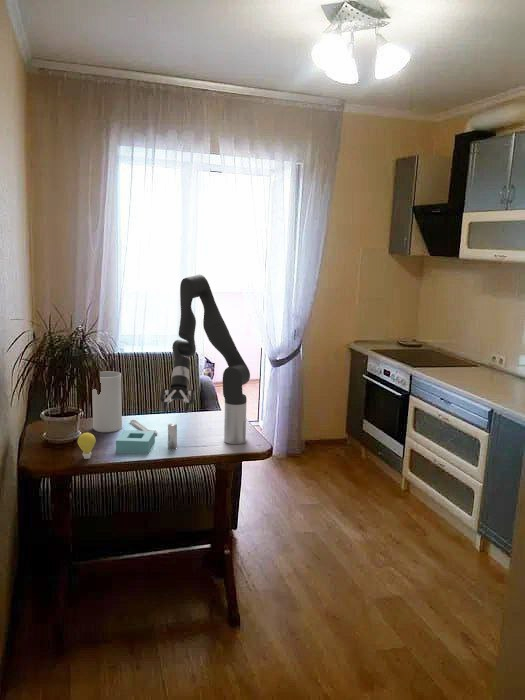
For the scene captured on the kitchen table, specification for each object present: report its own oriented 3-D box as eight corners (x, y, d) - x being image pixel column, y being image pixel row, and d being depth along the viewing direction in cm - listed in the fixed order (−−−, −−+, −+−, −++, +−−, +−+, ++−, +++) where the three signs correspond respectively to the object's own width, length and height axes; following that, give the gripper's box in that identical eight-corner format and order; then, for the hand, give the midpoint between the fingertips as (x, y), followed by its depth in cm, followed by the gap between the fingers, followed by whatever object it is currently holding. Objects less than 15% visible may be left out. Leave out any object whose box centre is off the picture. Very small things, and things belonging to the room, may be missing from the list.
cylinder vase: (122, 423, 261) (121, 371, 256) (122, 432, 249) (121, 377, 244) (93, 425, 258) (92, 371, 253) (92, 433, 246) (91, 378, 241)
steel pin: (177, 446, 232) (177, 423, 231) (176, 450, 229) (176, 426, 227) (168, 446, 232) (168, 423, 231) (167, 449, 229) (167, 426, 227)
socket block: (154, 442, 237) (154, 431, 236) (148, 453, 224) (148, 441, 223) (124, 441, 237) (123, 430, 236) (116, 452, 224) (115, 440, 223)
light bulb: (96, 460, 216) (95, 435, 214) (77, 461, 214) (76, 436, 212) (96, 454, 222) (95, 429, 220) (78, 455, 220) (77, 430, 218)
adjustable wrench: (129, 423, 263) (129, 419, 263) (142, 421, 266) (142, 418, 266) (145, 439, 242) (145, 435, 241) (159, 437, 245) (159, 433, 244)
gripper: (162, 373, 243) (157, 406, 234) (195, 374, 243) (191, 407, 234) (164, 383, 249) (160, 415, 240) (197, 384, 249) (193, 416, 240)
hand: (175, 411), depth 237 cm, fingers open, 8 cm apart
